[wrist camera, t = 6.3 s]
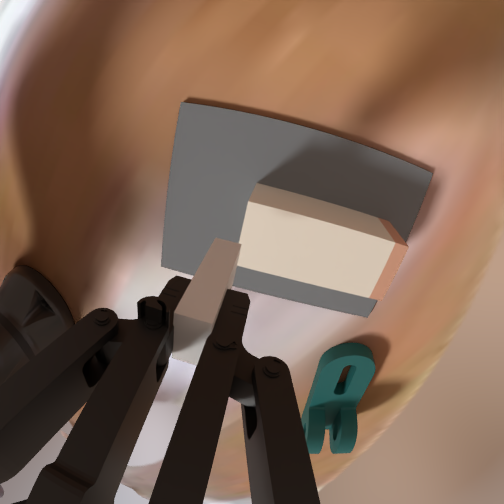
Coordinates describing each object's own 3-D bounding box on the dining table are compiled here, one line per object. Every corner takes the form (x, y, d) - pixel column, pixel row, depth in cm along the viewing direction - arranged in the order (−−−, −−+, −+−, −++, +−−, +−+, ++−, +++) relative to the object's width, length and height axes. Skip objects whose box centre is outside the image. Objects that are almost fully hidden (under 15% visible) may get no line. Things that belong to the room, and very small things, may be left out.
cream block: (233, 264, 21) (381, 301, 21) (248, 201, 19) (408, 246, 19) (244, 236, 26) (368, 268, 26) (256, 183, 23) (389, 221, 23)
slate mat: (162, 264, 29) (161, 266, 28) (183, 102, 21) (180, 102, 21) (366, 314, 29) (367, 317, 28) (430, 172, 21) (432, 173, 21)
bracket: (342, 417, 39) (344, 459, 32) (301, 416, 40) (299, 459, 33) (379, 342, 31) (392, 394, 24) (324, 340, 31) (329, 396, 24)
